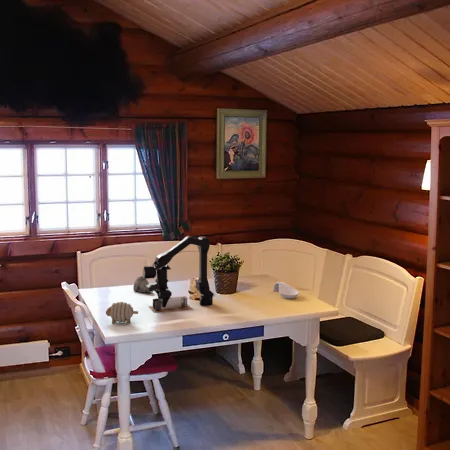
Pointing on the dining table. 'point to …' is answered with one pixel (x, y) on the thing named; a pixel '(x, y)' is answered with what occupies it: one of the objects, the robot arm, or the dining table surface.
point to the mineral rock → (140, 285)
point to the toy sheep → (120, 312)
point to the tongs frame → (170, 298)
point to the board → (171, 309)
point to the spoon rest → (285, 290)
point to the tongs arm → (170, 303)
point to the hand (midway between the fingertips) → (162, 305)
